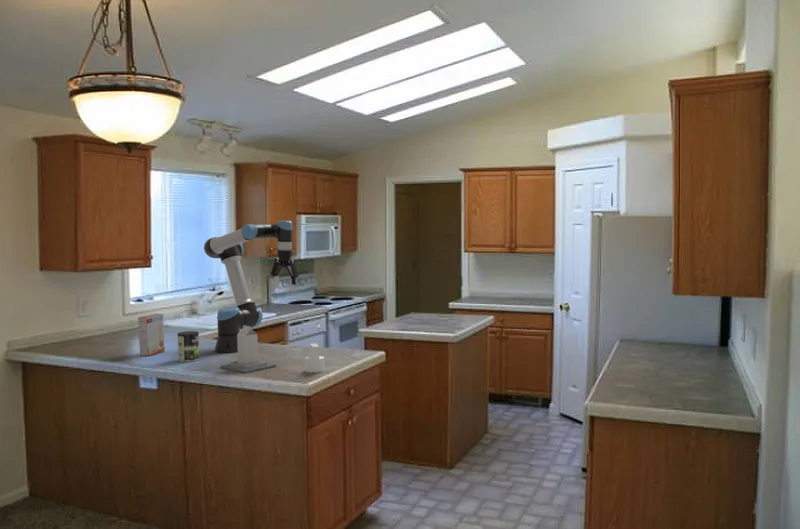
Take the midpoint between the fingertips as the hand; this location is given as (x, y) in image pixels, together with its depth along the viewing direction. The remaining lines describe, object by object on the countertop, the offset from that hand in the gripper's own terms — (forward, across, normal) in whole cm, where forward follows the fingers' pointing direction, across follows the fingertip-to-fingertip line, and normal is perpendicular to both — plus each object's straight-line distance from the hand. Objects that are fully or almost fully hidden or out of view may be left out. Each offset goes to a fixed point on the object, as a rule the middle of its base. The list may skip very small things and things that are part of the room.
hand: (284, 289), depth 354 cm
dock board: (+34, -16, +34) cm, 50 cm away
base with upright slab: (+33, -46, +18) cm, 60 cm away
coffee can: (+36, +23, +42) cm, 60 cm away
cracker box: (+37, +54, +46) cm, 80 cm away
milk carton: (+33, -15, +34) cm, 50 cm away
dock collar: (+34, -16, +34) cm, 50 cm away
